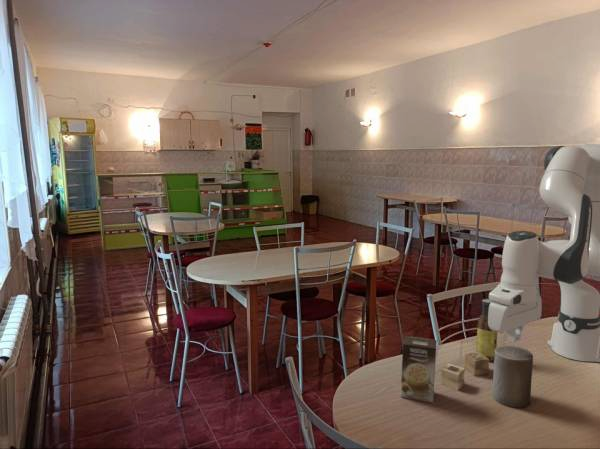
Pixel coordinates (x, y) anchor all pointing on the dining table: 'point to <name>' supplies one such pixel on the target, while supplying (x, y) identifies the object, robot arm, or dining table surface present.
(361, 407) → the dining table surface
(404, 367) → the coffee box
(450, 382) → the marked block beech
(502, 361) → the pillar candle
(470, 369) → the wooden cube
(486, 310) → the sauce bottle
